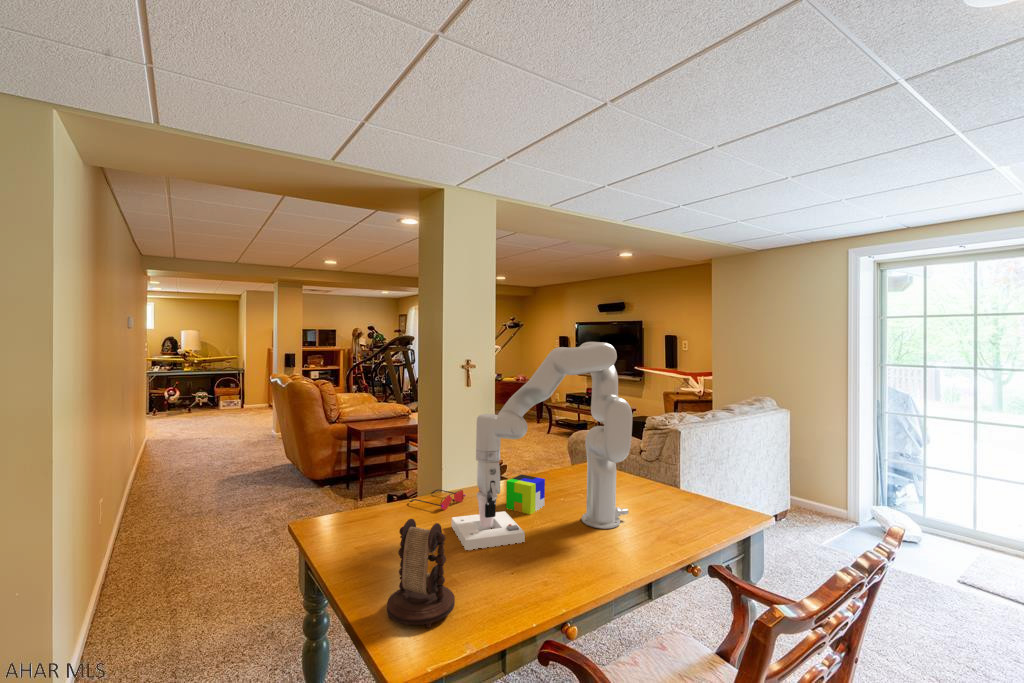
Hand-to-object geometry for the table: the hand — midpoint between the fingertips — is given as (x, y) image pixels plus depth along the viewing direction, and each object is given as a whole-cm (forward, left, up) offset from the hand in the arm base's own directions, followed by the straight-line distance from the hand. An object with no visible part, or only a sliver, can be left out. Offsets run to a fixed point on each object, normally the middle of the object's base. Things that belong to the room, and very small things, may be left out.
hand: (486, 512), depth 148 cm
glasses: (+9, -33, -7) cm, 35 cm away
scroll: (+26, +35, -7) cm, 44 cm away
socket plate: (0, 0, -7) cm, 7 cm away
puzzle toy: (-20, -18, -7) cm, 28 cm away
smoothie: (0, 0, -4) cm, 4 cm away
